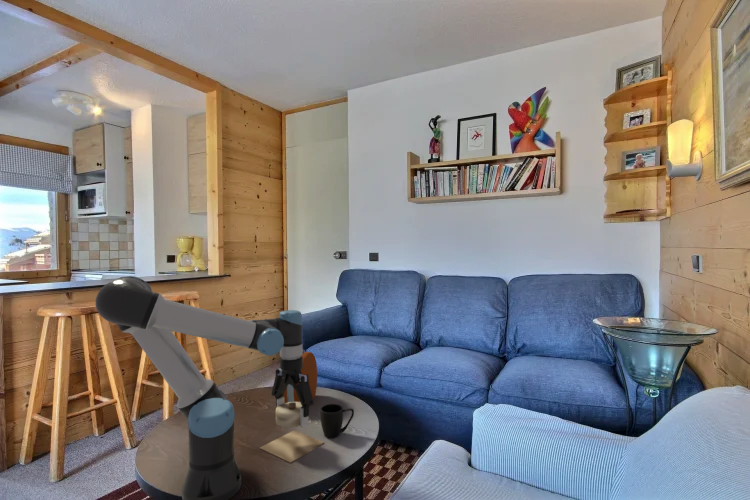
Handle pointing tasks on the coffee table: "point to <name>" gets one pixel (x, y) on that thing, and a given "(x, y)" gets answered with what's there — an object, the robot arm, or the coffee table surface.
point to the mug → (333, 419)
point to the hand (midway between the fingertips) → (292, 421)
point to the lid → (288, 414)
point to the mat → (291, 446)
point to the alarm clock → (307, 369)
